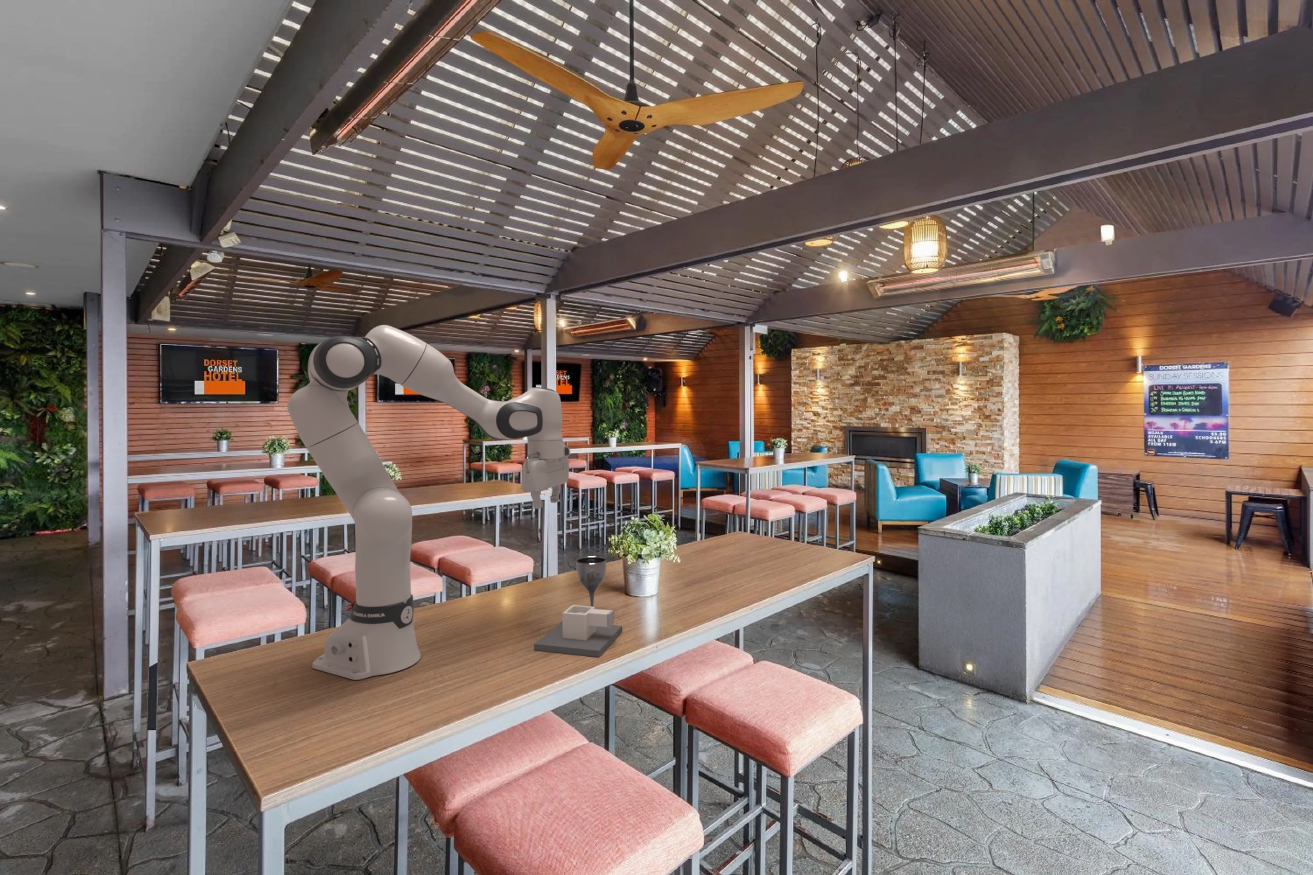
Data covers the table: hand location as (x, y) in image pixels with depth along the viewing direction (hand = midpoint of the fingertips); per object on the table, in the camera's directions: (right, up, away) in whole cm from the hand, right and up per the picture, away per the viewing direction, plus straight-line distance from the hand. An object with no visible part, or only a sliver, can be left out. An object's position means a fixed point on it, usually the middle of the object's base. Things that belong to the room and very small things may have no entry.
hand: (546, 505), depth 155 cm
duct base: (+10, -32, -9) cm, 34 cm away
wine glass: (+11, -31, +9) cm, 34 cm away
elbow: (+12, -30, -10) cm, 34 cm away
